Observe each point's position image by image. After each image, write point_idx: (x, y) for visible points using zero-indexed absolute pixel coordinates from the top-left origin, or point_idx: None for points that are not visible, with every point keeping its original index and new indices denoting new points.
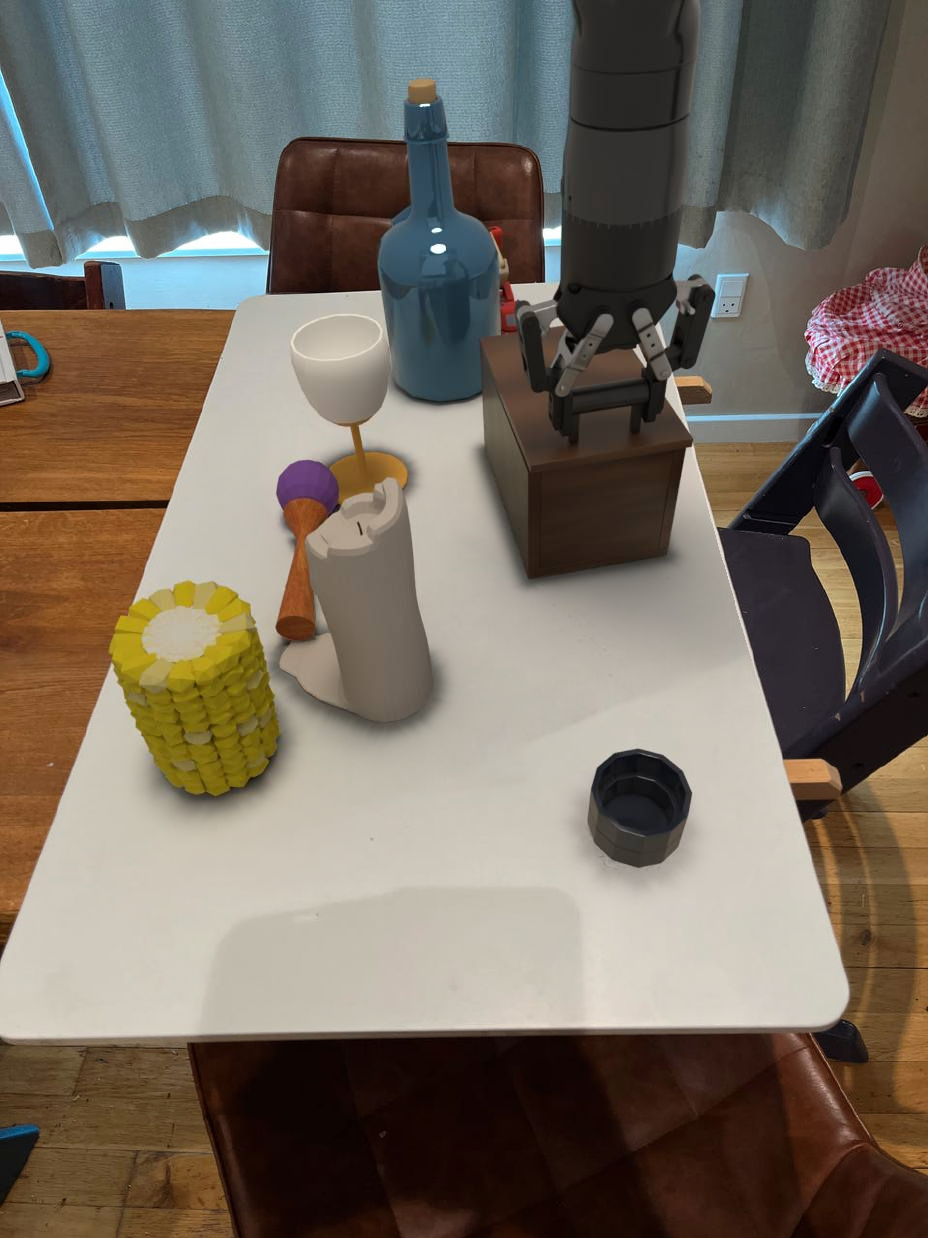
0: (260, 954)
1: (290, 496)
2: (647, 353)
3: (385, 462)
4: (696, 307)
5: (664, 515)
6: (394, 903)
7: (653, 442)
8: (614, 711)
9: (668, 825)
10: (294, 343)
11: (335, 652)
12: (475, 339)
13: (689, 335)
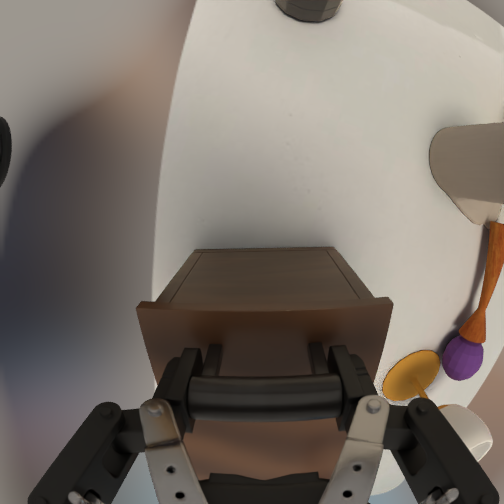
0: (490, 34)
1: (481, 347)
2: (186, 456)
3: (393, 391)
4: (64, 499)
5: (191, 267)
6: (444, 20)
7: (194, 315)
8: (296, 79)
9: None
10: (481, 454)
11: (479, 202)
12: None
13: (90, 456)
